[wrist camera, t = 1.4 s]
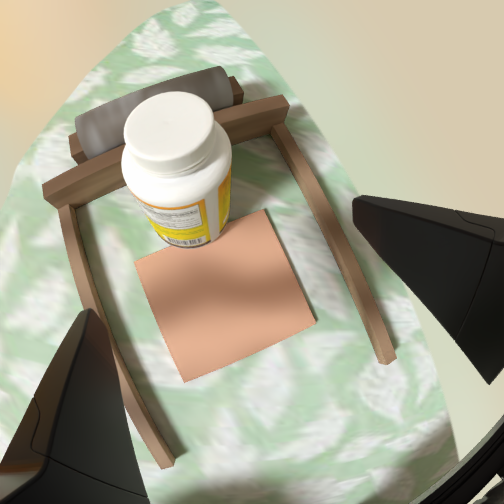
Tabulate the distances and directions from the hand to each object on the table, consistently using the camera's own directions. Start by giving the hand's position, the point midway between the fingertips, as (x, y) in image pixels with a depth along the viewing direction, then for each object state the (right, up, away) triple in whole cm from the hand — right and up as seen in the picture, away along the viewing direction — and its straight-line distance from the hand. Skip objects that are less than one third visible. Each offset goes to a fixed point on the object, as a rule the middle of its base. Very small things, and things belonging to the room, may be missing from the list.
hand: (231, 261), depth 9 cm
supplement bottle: (-4, +3, +12) cm, 13 cm away
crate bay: (-2, -1, +12) cm, 12 cm away
